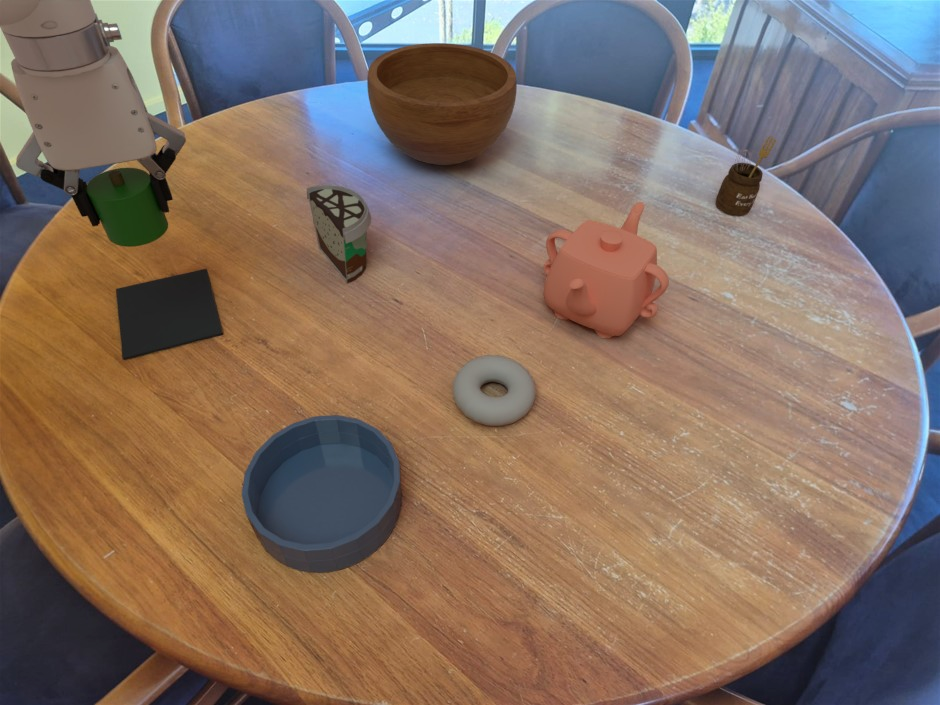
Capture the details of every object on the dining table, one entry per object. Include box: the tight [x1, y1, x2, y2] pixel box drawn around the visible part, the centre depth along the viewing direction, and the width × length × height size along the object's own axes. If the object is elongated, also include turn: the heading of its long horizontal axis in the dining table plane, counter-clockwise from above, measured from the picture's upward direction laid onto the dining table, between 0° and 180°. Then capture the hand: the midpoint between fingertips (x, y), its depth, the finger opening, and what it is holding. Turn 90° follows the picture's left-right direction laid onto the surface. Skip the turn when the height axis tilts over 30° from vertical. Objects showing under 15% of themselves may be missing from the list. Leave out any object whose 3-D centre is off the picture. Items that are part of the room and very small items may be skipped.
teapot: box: [542, 201, 670, 339], centre depth 82 cm, size 15×17×13 cm
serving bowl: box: [241, 414, 403, 574], centre depth 63 cm, size 15×15×5 cm
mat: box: [115, 268, 224, 361], centre depth 83 cm, size 12×14×1 cm
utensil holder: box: [715, 135, 777, 217], centre depth 101 cm, size 6×6×12 cm
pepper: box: [86, 167, 169, 248], centre depth 68 cm, size 6×6×7 cm
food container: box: [306, 184, 372, 284], centre depth 89 cm, size 12×6×10 cm, turn 34°
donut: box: [452, 354, 537, 427], centre depth 74 cm, size 10×4×10 cm
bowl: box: [366, 42, 518, 166], centre depth 108 cm, size 25×25×15 cm
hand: (130, 211), depth 69 cm, fingers closed on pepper, 6 cm apart
